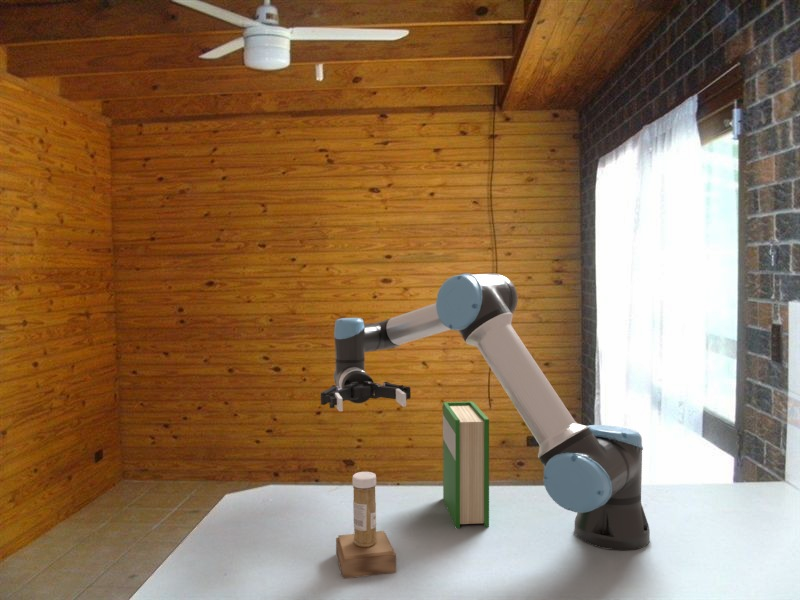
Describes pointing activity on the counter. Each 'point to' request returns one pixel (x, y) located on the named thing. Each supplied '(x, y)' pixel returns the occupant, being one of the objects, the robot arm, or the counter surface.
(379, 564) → the walnut base
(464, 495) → the hardback book
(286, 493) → the counter surface
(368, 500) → the sprinkles bottle
